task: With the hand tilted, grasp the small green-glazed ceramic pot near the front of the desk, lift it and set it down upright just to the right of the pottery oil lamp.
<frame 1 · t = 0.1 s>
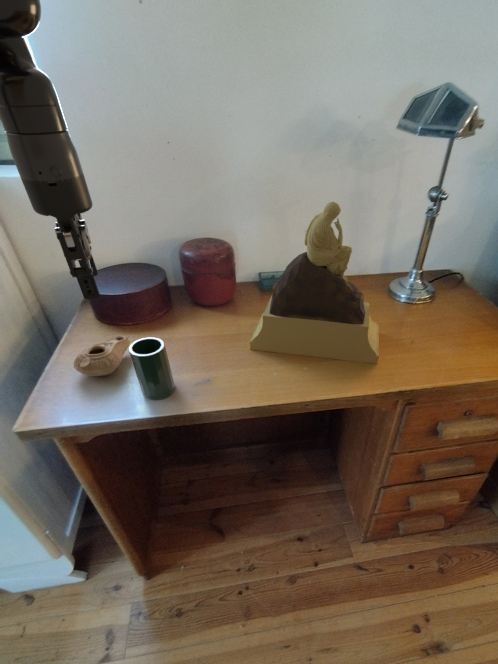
hand: (91, 286, 62), 20 cm above the table, tool pointing down, fingers open, 8 cm apart
pottery oil lamp: (111, 367, 79), on the table
pot: (158, 389, 74), on the table
seated thinker statue: (316, 341, 88), on the table
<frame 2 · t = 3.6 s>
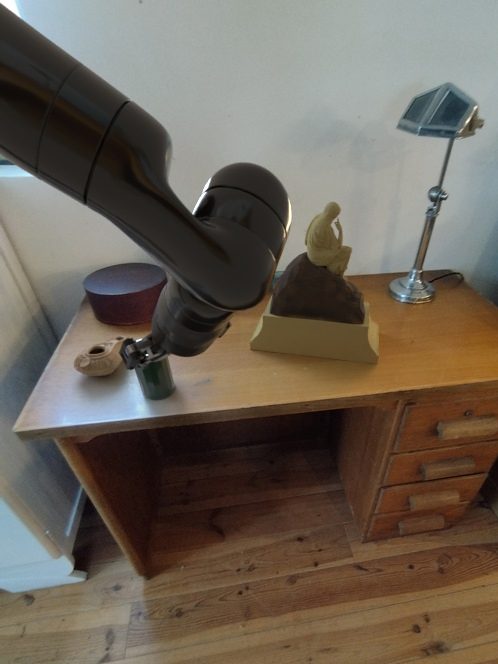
hand: (168, 353, 57), 15 cm above the table, tool tilted 45°, fingers open, 8 cm apart
nothing on the table moved.
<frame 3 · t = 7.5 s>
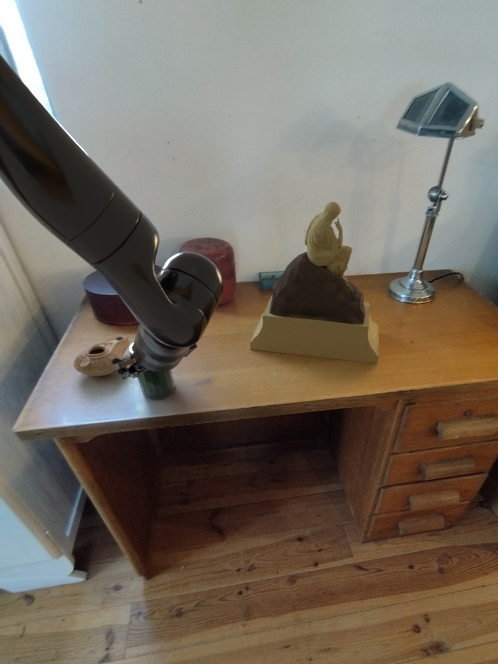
hand: (150, 366, 72), 5 cm above the table, tool tilted 45°, fingers closed on pot, 6 cm apart
pot: (158, 389, 74), on the table, touching gripper
everything else where it was.
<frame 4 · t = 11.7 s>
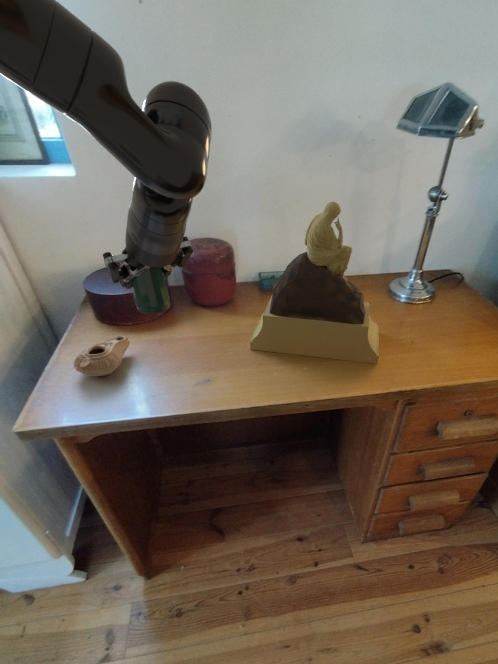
hand: (144, 279, 69), 18 cm above the table, tool tilted 45°, fingers closed on pot, 6 cm apart
pot: (154, 305, 71), point 14 cm above the table, touching gripper
everything else where it was.
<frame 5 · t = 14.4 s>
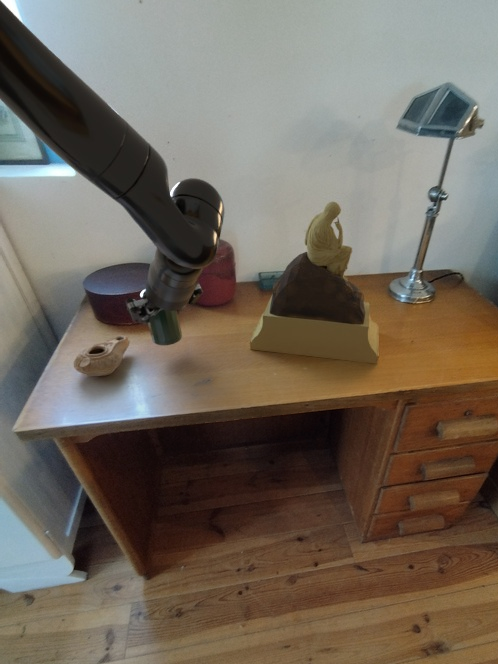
hand: (159, 315, 77), 9 cm above the table, tool tilted 45°, fingers closed on pot, 6 cm apart
pot: (167, 337, 79), point 4 cm above the table, touching gripper
everything else where it was.
when the fingers open (5 cm above the table, at t = 16.2 s): pot stays where it is, on the table.
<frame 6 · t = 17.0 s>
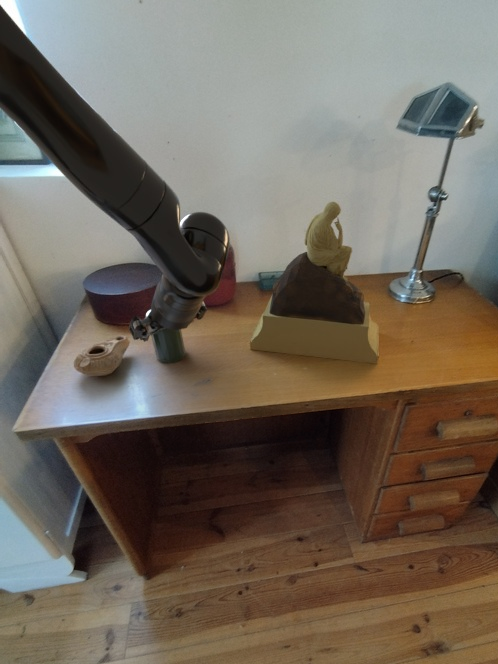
hand: (163, 330, 79), 6 cm above the table, tool tilted 45°, fingers open, 8 cm apart
pot: (171, 354, 82), on the table
everything else where it was.
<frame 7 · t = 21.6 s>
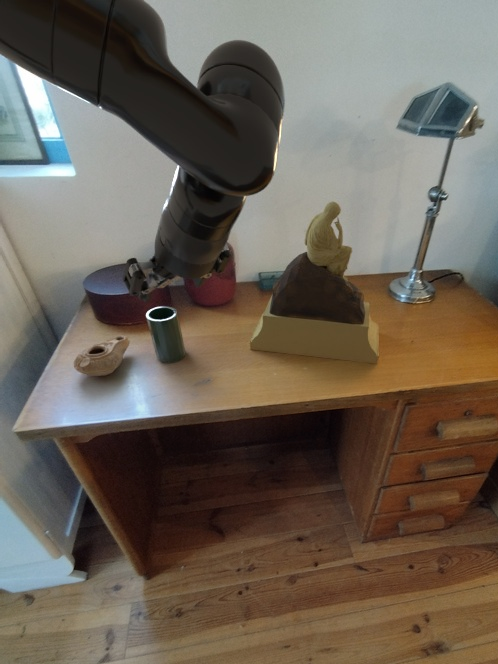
hand: (170, 288, 59), 21 cm above the table, tool tilted 45°, fingers open, 8 cm apart
nothing on the table moved.
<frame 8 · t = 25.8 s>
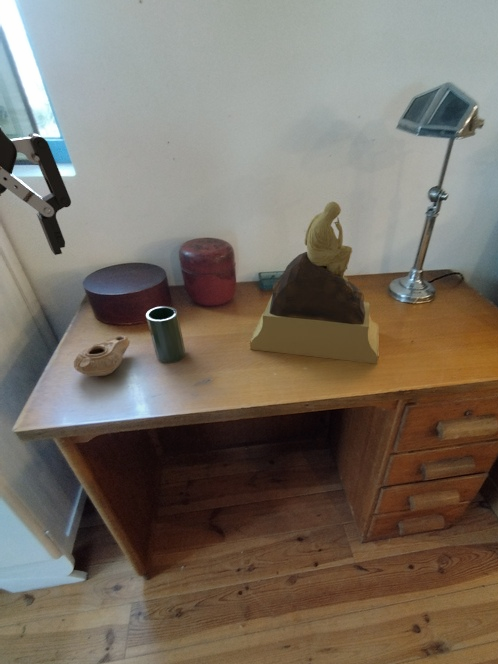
hand: (11, 261, 39), 32 cm above the table, tool pointing down, fingers open, 8 cm apart
nothing on the table moved.
at the end: pot inside the target area (0.4 cm from its centre), on the table; pot tilted 0°; the gripper is holding nothing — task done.
